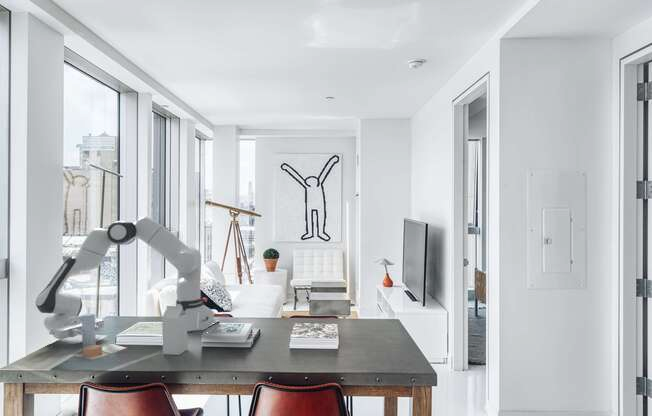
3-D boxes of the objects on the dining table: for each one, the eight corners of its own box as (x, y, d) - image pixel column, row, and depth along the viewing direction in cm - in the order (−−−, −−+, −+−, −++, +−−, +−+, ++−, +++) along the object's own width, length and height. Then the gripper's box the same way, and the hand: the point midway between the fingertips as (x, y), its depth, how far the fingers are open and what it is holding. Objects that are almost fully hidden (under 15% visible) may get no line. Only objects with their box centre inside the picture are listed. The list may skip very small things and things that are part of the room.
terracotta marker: (94, 351, 184) (94, 344, 184) (102, 353, 181) (102, 346, 181) (82, 355, 179) (82, 347, 179) (90, 357, 177) (90, 349, 177)
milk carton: (178, 355, 181) (177, 308, 181) (162, 354, 182) (161, 307, 182) (187, 349, 188) (186, 304, 187) (172, 348, 189) (171, 303, 189)
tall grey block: (91, 345, 195) (90, 313, 195) (98, 347, 193) (97, 314, 192) (80, 348, 191) (79, 315, 190) (87, 350, 188) (86, 317, 188)
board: (111, 346, 194) (111, 343, 194) (127, 350, 188) (127, 347, 188) (74, 357, 180) (74, 355, 180) (91, 362, 174) (91, 359, 174)
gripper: (46, 325, 189) (65, 329, 182) (92, 314, 207) (111, 317, 200) (46, 340, 189) (65, 345, 182) (93, 327, 207) (111, 331, 200)
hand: (90, 330), depth 191 cm, fingers closed on tall grey block, 5 cm apart
